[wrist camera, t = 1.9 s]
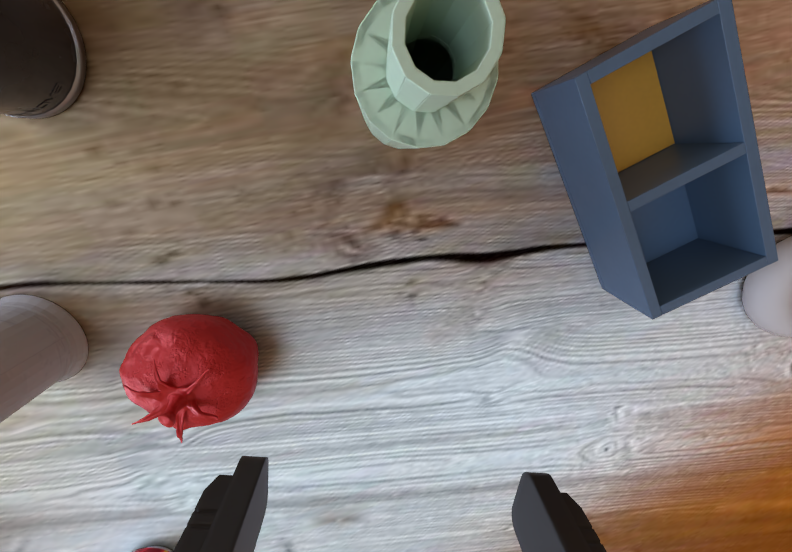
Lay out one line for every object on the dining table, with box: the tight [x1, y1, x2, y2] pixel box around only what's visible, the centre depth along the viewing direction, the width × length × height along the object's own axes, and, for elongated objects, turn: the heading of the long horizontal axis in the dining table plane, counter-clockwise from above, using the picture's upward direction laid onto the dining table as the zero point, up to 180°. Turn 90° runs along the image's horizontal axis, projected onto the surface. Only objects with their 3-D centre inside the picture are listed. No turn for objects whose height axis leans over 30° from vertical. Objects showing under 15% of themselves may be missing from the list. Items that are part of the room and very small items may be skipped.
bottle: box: [351, 0, 506, 149], centre depth 19 cm, size 6×6×19 cm
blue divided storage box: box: [531, 0, 778, 319], centre depth 28 cm, size 10×18×7 cm, turn 28°
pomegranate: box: [119, 314, 259, 443], centre depth 30 cm, size 10×10×9 cm
